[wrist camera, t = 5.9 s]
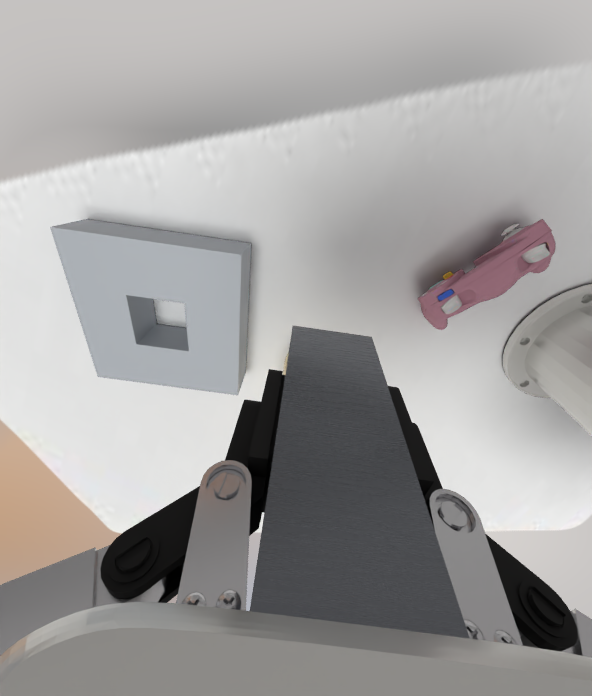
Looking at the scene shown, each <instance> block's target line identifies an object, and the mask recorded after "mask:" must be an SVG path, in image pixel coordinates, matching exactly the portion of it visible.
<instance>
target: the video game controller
mask: <svg viewBox="0 0 592 696" xmlns="http://www.w3.org/2000/svg"><path fill="white" fill-rule="evenodd" d="M518 225H519V223H518V224H515V225H511V226H510V227H508V228H507V229H505V230H504V232H503V233H502V234H501V236H503V235H505V234H507V235H506V237H505V238H504V240H503V241H502V242H501V244H500V245H498V246H496V247H495V248H493V249H491V250H490V251H488V252H487V253H485V254H484V255H482V256H480V257H479V258H477V259H476V260H475V261H473V263H474V264H475V266H476V267H475V268H474V269H472V270H471V271H469V272H468V273H466V274H465V273H464V271H463V270H462V269H461V270H459V271H457V272H455V273H454V274H453V273H452V272H451V271H450V272H448V273H446V274H445V275H444V276H443V278H444V280H441V281H440V282H438V283H436V284H435V285H433V286H432V287H430V288H429V290H428V291H427V292H426V293H425V294H423V295H422V296H420V297H419V298H418V300H419V302H420V303H421V309H422V313H423V315H424V317H425V318H426V319H427V320H428V321H429V322H430V323H431V324H432V325H433V326H434V327H435V328H437V329H439V330H443V329H445V328H446V327H447V318H449V317H451V316H453V315H456V314H458V313H460V312H462V311H464V310H466V309H468V308H470V307H471V306H473V305H475V304H477V303H480V302H483V301H487V300H490V299H493V298H496V297H498V296H500V295H502V294H503V293H505V292H506V291H507V290H508V289H509V288H510V287H512V286H513V285H514V284H515V283H516V281H517V280H518V279H520V278H521V277H522V276H524V275H525V274H527V273H529V272H533V273H540V272H543V271H545V270H546V268H547V267H548V266H549V264H550V260H551V257H552V255H553V254H554V252H555V241H554V237H553V235H552V233H551V231H552V230H551V229H550V228H549V227H548V225H547V224H546V223H545V221H544V220H543V219H541V220H539V221H538V222H536V223H534V224H532V225H530V226H526V227H523V228H517V229H515V228H516V227H517V226H518Z"/></svg>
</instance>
